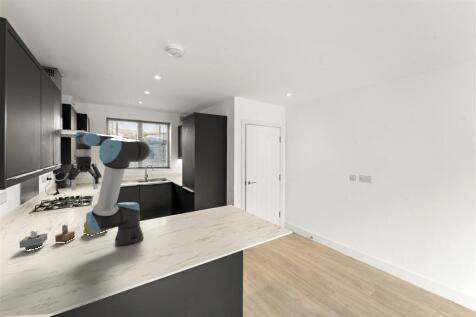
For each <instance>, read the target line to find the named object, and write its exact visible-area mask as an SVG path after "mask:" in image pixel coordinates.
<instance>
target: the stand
mask: <svg viewBox="0 0 476 317" xmlns="http://www.w3.org/2000/svg"><path fill="white" fill-rule="evenodd" d="M68 226H69V225H68V224H63V225H62V227H61V230H62V231H61V232H60V233H58V234H55V235H54V236H55V238H54V240H55V242H67V241H69V240H71V239H73V238H74V237H76V236H75V234H76V232H75V231H74V230H73V231H71V230H70V231H69V227H68ZM55 242H54V243H55Z"/></svg>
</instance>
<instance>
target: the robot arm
mask: <svg viewBox="0 0 476 317" xmlns="http://www.w3.org/2000/svg"><path fill="white" fill-rule="evenodd" d="M92 147H99V152H98V157H99V160H100V162H101V163H102V166H104V171H103V174H101V172H100V170H99V169H98V167H97V163H92ZM150 154H151V149H150V145H149V144H148V143H147V142H146V141H143V140H138V139H127V138H125V137H124V138H123V136H121V135H110V134H109V135H108V134H99V133H98V134H97V133H95V132H88V131H77V132H75V160H76V164H75V163H72V164H71V167H70V169H69V172H68V174H67V176H66V180H69V184H70V187H71V191H76V190H77V179H76V178H77V177H78V175H79V174H80V173H81V172H88V173H89V174H90V175H91V176H92V178H93V179H92V181H93V182H92V187H93V190H98V188H99V186H98V185H99V184H100V180H99V179H101V178H102V181H101V185H100V190H99V193H98V194H99V195H98V199H97V202H96V204H94V205H93V207H92V209H91V210H90V211H88V212H86V215H85V218H86V221H87V225H88V228H89V230H90V231H91V232H92V233H97V232H101V231H105V230H107V231H109V230H111V229H115V228H117V232H116V235H115V239H114V245H116V246H118V247H119V246H123V247H124V246H130V245H134V244H137V243H139V242H141V241H142V240H144V233H143V230H142V227H141V224H140V223H141V222H140V221H141V220H140V210H141V209H140V204H139V203H138V202H133V201H132V202H127V201H126V202H118V198H119V195H120V191H121V188H122V187H121V186H122V181H123V178H124V174H125V170H127V169H128V168H129V167H130V164H131V163H139V162H143V161H145V160H146V159H148V157H150ZM102 175H103V176H102ZM117 202H118V203H117ZM86 221H85V222H86Z"/></svg>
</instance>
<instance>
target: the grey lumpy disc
mask: <svg viewBox="0 0 476 317" xmlns="http://www.w3.org/2000/svg"><path fill="white" fill-rule="evenodd" d="M47 240H48V233H41V234H37V238H33V239H31V235H29V236H25V237H24V238H23V239H21V240H20V241H19V249H24V248H25V247H29V246H34V245H40V244H43V245H44V243H45V242H46V241H47Z"/></svg>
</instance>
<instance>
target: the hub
mask: <svg viewBox="0 0 476 317" xmlns="http://www.w3.org/2000/svg"><path fill="white" fill-rule="evenodd" d="M37 235H38V230H31V231H30V236H31V239H33V238H37ZM42 245H43V246H44V243H43V244H40V245H34V246H29V247H24V249H26V250H29V249H35V248H38V247H40V246H42Z"/></svg>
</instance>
